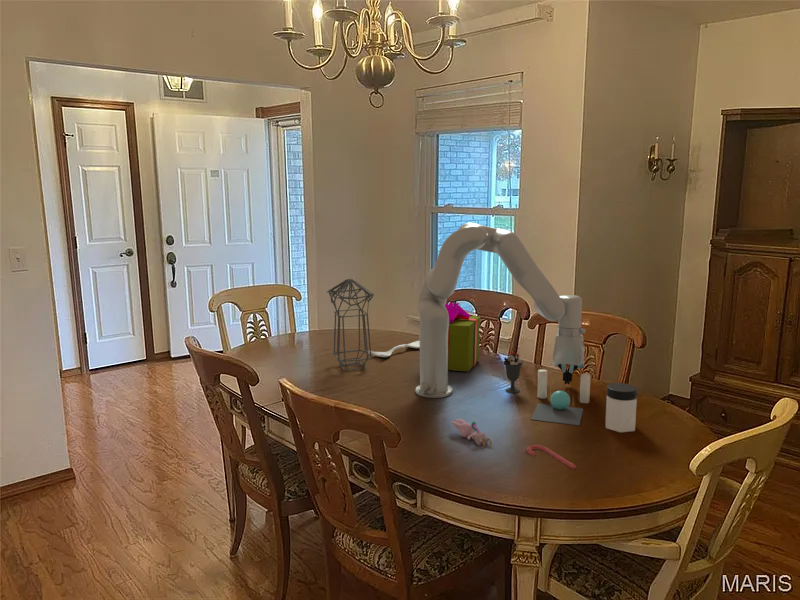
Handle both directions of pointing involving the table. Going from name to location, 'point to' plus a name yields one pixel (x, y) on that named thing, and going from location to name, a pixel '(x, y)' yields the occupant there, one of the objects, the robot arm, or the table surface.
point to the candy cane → (553, 454)
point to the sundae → (513, 370)
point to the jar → (621, 407)
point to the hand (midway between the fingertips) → (567, 382)
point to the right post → (584, 388)
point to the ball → (560, 400)
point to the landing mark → (557, 414)
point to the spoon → (386, 354)
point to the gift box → (462, 338)
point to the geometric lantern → (368, 295)
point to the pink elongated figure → (471, 431)
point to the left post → (542, 384)
